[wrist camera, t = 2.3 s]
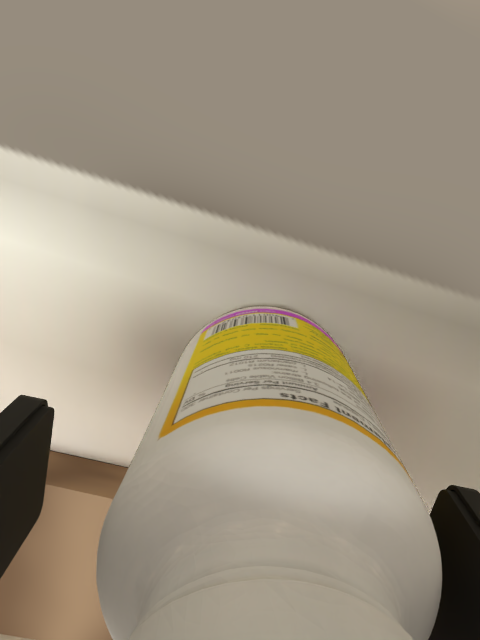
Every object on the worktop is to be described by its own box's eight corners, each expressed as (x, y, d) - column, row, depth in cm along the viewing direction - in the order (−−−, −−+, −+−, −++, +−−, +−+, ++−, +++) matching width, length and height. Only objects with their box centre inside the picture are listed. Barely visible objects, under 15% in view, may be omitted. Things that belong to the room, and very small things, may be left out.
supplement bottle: (271, 488, 19) (292, 1037, 7) (143, 393, 18) (-106, 824, 6) (385, 374, 17) (688, 814, 5) (252, 263, 17) (229, 475, 4)
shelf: (304, 507, 19) (315, 586, 15) (250, 679, 22) (247, 783, 18) (-218, 391, 19) (-341, 442, 15) (-207, 581, 21) (-309, 667, 18)
